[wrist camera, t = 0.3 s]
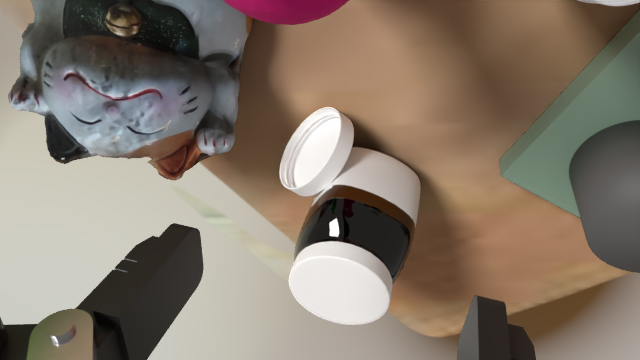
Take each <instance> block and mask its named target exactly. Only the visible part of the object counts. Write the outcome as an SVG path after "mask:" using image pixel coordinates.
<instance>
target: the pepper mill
mask: <svg viewBox="0 0 640 360" xmlns="http://www.w3.org/2000/svg"><path fill="white" fill-rule="evenodd" d="M223 1H224V2H226V3H227V4H228V5H229V6H231V7H232V8H234V9H236V10H238V11H240V12H242V13H243V14H245V15H247V16H250V17H252V18H255V19H257V20H260V21H263V22H268V23H274V24H287V25H296V24H303V23H307V22H310V21H314V20H317V19H320V18H322V17H325V16H327V15H329V14H331V13H332V12H334V11H336V10H337V9H339V8H340V7H341V6H343V5H344V4H345V3H346V2H348V1H349V0H223Z"/></svg>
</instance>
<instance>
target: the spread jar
mask: <svg viewBox="0 0 640 360" xmlns="http://www.w3.org/2000/svg"><path fill="white" fill-rule="evenodd" d="M353 140H354V128H353V124H352V122H351V121H350V119H349V118H347V117H346V116H344V115H343V114H342V113H340V112H339V111H337V110H336V109H335V108H332V107H324V108H321V109H319V110H317V111H315V112H314V113H312V114H311V115H310V116H308V117H307V118H306V119H305V120H304V121H303V122H302V123H301V124H300V126H299V127H298V128H297V129H296V131H295V132H294V134H293V135H292V137H291V138H290V140H289V142H288V144H287V146H286V148H285V150H284V153H283V156H282V159H281V163H280V171H279V174H280V180H281V183H282V184H283V186H284V187H286V188H287V189H289V190H291V191H293V192H295V193H296V194H298V195H300V196H304V197H307V196H312V195H315V197H314V199H313V202H312V204H311V207H310V209H309V211H308V214H307V216H306V219H305V221H304V223H303V226H302V228H301V231H300V234H299V237H298V240H297V244H296V248H295V254H294V264H293V267H292V269H291V272H290V275H289V286H290V290H291V292H292V294H293V295H294V297H295V299H296V300H297V301H298V302H299V303H300V304H301V305H302V306H303V307H304V308H305V309H307V310H308V311H310V312H311V313H313V314H314V315H316V316H318V317H320V318H322V319H325V320H328V321H331V322H335V323H339V324H347V325H360V324H366V323H370V322H373V321H375V320H377V319H379V318H380V317H382V316H383V315H384V314H385V313H386V311H387V309H388V308H389V304H390V299H391V293H392V287H393V284H394V283H395V281H396V279H397V278H398V276H399V274H400V272H401V270H402V269H403V267H404V264H405V261H406V259H407V256H408V254H409V251H410V248H411V245H412V241H413V238H414V233H415V229H416V223H417V217H418V209H419V202H420V190H421V187H420V180H419V178H418V176H417V175H416V174H415V172H414V171H413V170H412V169H411V168H409V167H408V166H407V165H406V164H404V163H403V162H401V161H400V160H398V159H396V158H395V157H393V156H391V155H388V154H386V153H384V152H381V151H378V150H374V149H370V148H366V147H352V145H353Z"/></svg>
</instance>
